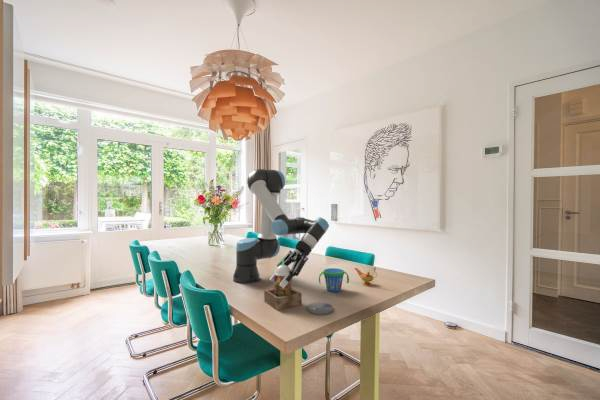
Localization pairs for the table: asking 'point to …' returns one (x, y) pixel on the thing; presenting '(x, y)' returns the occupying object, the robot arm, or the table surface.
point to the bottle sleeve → (282, 299)
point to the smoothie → (278, 277)
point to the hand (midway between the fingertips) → (276, 283)
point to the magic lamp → (366, 277)
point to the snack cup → (334, 279)
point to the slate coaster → (320, 308)
